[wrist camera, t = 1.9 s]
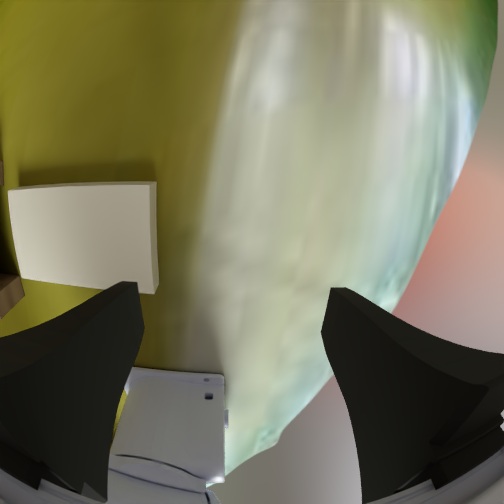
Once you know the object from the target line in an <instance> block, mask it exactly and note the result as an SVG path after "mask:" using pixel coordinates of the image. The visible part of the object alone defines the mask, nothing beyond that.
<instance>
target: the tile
mask: <svg viewBox="0 0 504 504" xmlns="http://www.w3.org/2000/svg"><path fill="white" fill-rule="evenodd" d="M156 189H157V182H156V181H120V182H82V183H62V184H46V185H33V186H22V187H17V188H14V189H11V190H8V201H9V210H10V219H11V226H12V233H13V239H14V244H15V250H16V255H17V259H18V264H19V268H20V273H21V277H22V278H25V279H31V280H38V281H44V282H51V283H58V284H65V285H73V286H80V287H88V288H97V289H107V288H109V287H111V286H113V285H114V284H116V283H119V282H121V281H131V282H137V283H138V290H139V293H145V294H154V293H155V291H156V289H157V287H158V285H159V272H158V253H157V218H156Z"/></svg>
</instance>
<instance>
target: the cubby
mask: <svg viewBox="0 0 504 504" xmlns="http://www.w3.org/2000/svg"><path fill="white" fill-rule="evenodd" d="M2 185H4V180H3V161H0V186H2ZM24 296H25V294H24V291H23V288H22V284H21V281H20V277H19V276H17V275H10V274H2V273H0V319H2V318H3V317H4V316H5V315H6V314H7V313H8V312H9V311H10V310H11V309H12V308H13V307H14V306H15V305H16V304H17V303H18V302H19V301H20V300H21V299H22V298H23V297H24Z"/></svg>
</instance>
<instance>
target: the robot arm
mask: <svg viewBox="0 0 504 504" xmlns="http://www.w3.org/2000/svg"><path fill="white" fill-rule="evenodd" d="M144 328H145V327H144V322H143V316H142V310H141V304H140V297H139V290H138V283H137V282H131V281H121V282H119V283H116V284H114V285H113V286H111V287H109V288H107V289H105V290H104V291H102V292H100V293H99V294H97V295H95V296H94V297H92V298H90V299H88V300H87V301H85V302H83V303H82V304H80V305H78V306H76V307H74V308H73V309H71V310H69V311H67V312H65V313H63V314H62V315H60V316H58V317H56V318H53V319H51V320H49V321H47V322H45V323H42V324H40V325H38V326H35V327H33V328H30V329H27V330H24V331H21V332H18V333H15V334H12V335H9V336H5V337H1V338H0V504H221V502H220V501H219V499H218V498H217V497H216V495H215V494H214V493H213V492H212V491H210V490H206V484H208V483H223V482H225V428H228V410H225V402H224V376H223V375H221V374H205V373H189V372H176V371H165V370H156V369H147V368H139V367H133V364H134V362H135V359H136V357H137V354H138V351H139V348H140V345H141V341H142V337H143V333H144ZM321 335H322V339H323V343H324V347H325V351H326V355H327V357H328V360H329V362H330V365H331V367H332V370H333V372H334V375H335V377H336V379H337V382H338V384H339V387H340V389H341V392H342V394H343V397H344V399H345V402H346V405H347V408H348V412H349V416H350V420H351V424H352V428H353V433H354V438H355V442H356V448H357V454H358V460H359V468H360V477H361V487H362V488H361V489H362V504H504V431H503V430H502V428H501V427H500V425H501V424H502V423H503V422H504V419H503V417H502V416H501V412H502V411H503V410H504V354H501V353H493V352H486V351H482V350H477V349H473V348H469V347H465V346H462V345H458V344H455V343H452V342H450V341H446V340H444V339H441V338H439V337H436V336H433V335H431V334H429V333H427V332H425V331H422V330H420V329H418V328H416V327H414V326H412V325H410V324H408V323H406V322H405V321H403V320H401V319H399V318H397V317H395V316H394V315H392V314H390V313H389V312H387V311H385V310H384V309H382V308H381V307H379V306H377V305H376V304H374V303H372V302H371V301H369V300H368V299H366V298H364V297H363V296H361V295H359V294H358V293H356V292H354V291H352V290H350V289H348V288H346V287H344V288H331V289H330V294H329V299H328V303H327V308H326V312H325V317H324V321H323V325H322V330H321ZM205 378H207V379H205ZM124 388H125V391H126V393H127V398H126V401H125V404H124V407H123V410H122V413H121V417H120V420H119V423H118V426H117V430H116V433H115V436H114V440H113V443H112V447H111V440H112V434H113V428H114V423H115V418H116V413H117V409H118V405H119V401H120V398H121V395H122V392H123V390H124ZM110 447H111V450H110Z"/></svg>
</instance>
